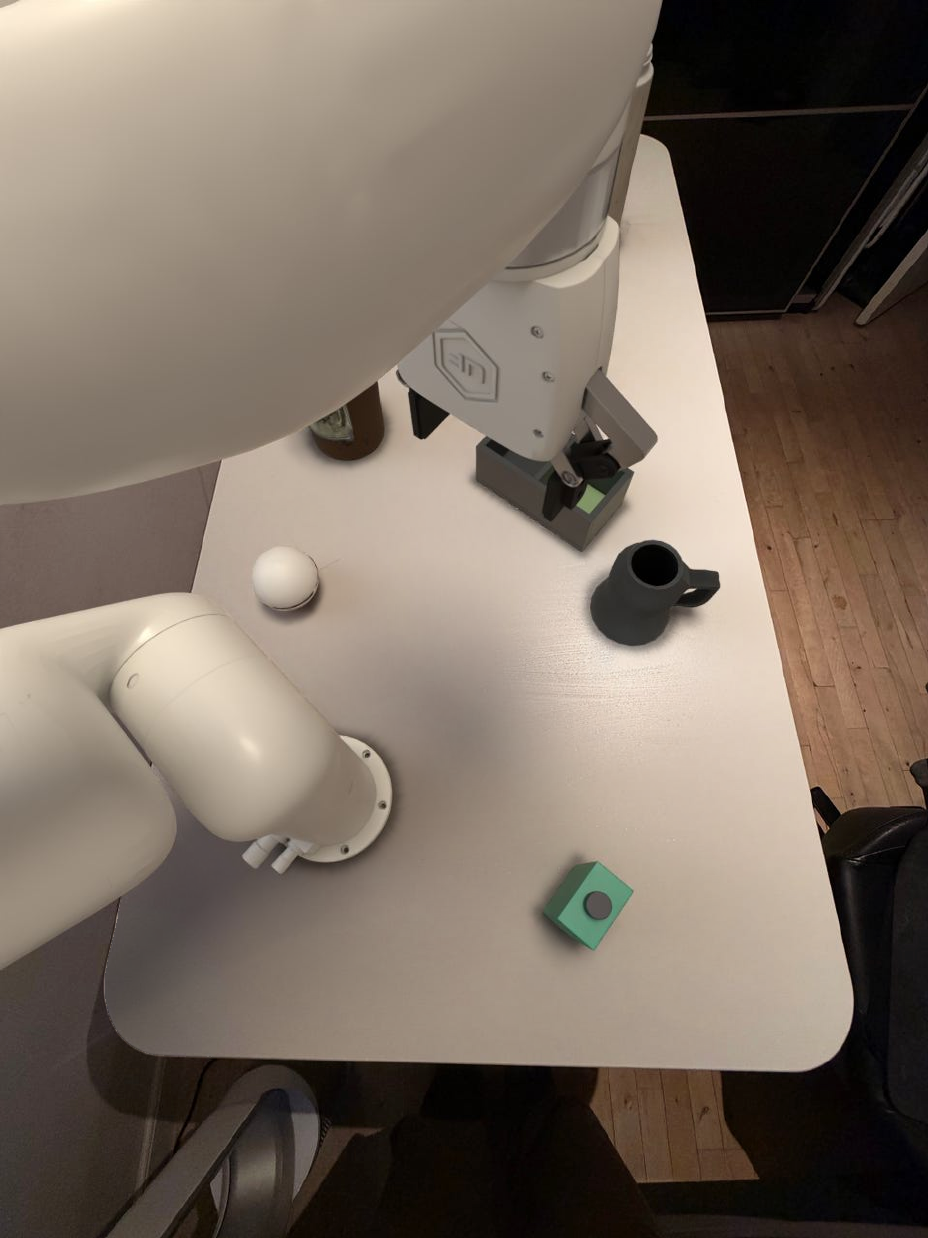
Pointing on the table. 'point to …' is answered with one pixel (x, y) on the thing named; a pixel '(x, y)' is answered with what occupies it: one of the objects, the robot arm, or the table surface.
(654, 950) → the table surface
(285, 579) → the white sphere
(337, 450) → the olive oil
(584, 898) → the detergent bottle
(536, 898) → the table surface
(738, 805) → the table surface
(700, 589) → the mug
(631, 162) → the thermos bottle
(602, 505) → the compartment box
